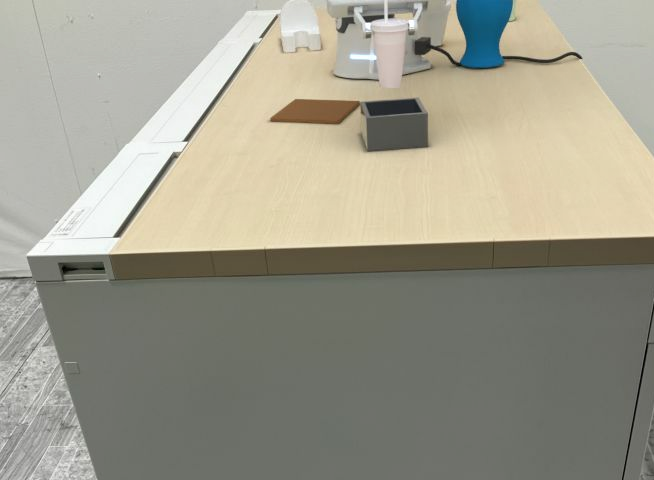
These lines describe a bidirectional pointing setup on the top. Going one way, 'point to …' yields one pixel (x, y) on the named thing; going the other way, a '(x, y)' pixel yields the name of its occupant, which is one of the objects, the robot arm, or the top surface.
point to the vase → (483, 30)
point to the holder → (394, 124)
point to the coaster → (315, 111)
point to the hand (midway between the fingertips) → (390, 34)
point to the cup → (434, 25)
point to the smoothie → (389, 48)
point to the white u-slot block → (299, 26)
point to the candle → (513, 11)
